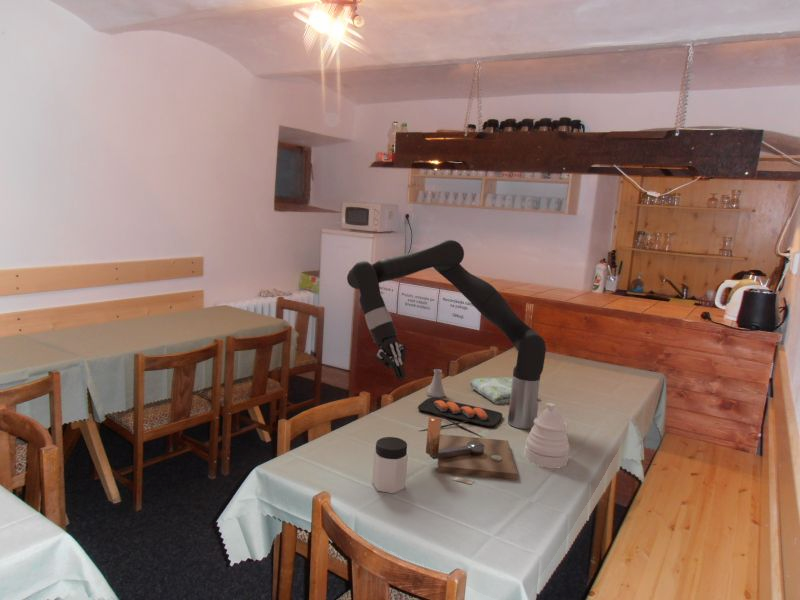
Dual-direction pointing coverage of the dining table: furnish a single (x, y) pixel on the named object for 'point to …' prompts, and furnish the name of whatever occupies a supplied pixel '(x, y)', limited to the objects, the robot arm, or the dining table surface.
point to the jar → (390, 464)
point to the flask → (436, 385)
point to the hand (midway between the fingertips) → (401, 378)
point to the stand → (478, 459)
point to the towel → (494, 388)
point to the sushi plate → (460, 412)
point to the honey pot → (548, 440)
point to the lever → (436, 453)
